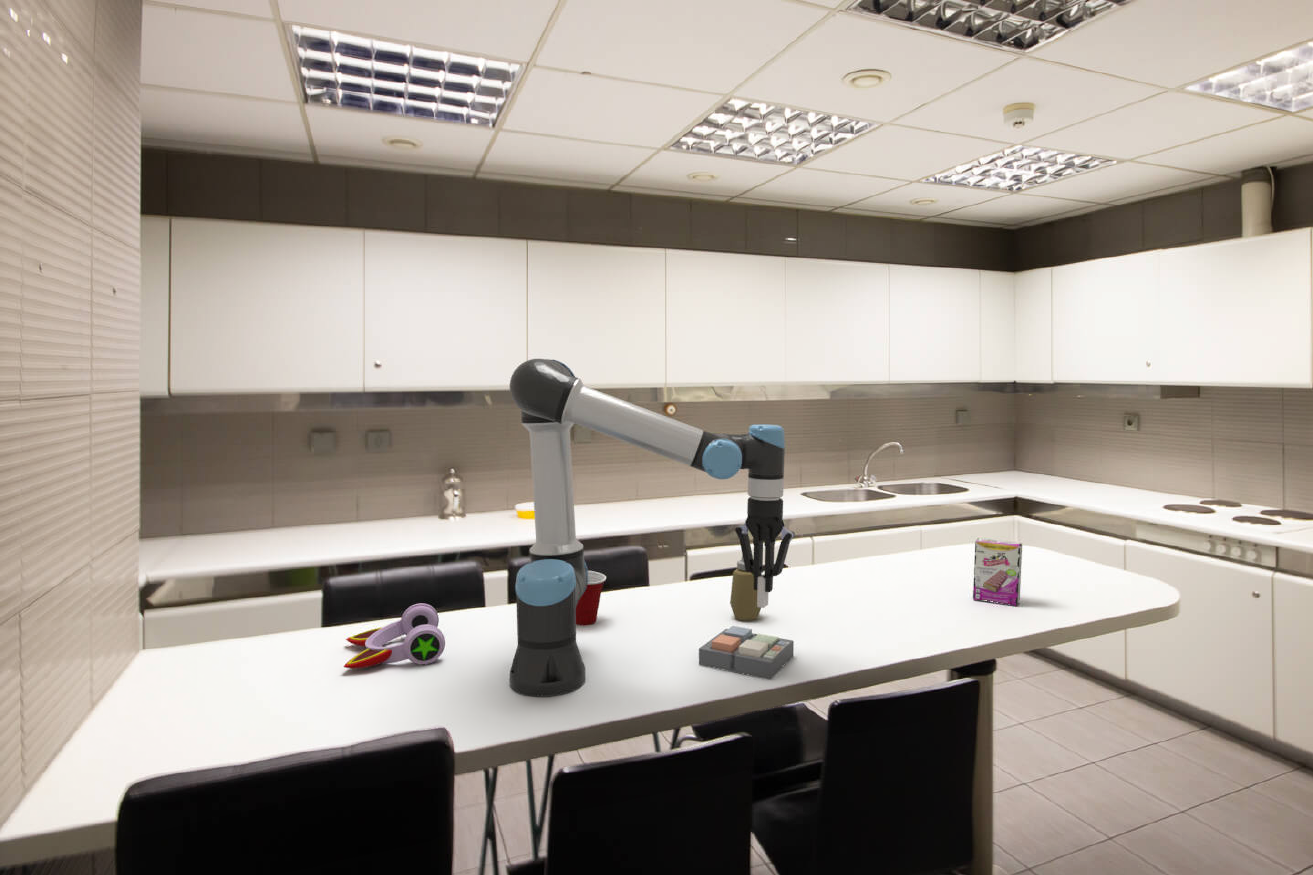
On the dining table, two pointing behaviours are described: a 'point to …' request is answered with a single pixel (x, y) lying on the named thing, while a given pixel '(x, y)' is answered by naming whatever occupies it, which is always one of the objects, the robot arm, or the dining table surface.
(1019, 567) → the candy bar box
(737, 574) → the squeeze bottle
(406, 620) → the headphones
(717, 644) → the key terracotta
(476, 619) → the dining table surface
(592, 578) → the plastic cup
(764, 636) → the key sage
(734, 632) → the key slate
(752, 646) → the key cream
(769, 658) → the keypad
